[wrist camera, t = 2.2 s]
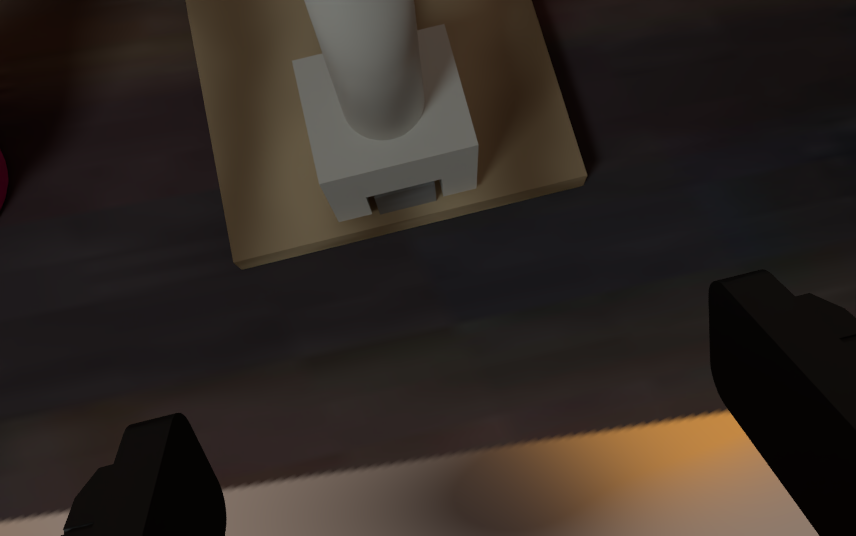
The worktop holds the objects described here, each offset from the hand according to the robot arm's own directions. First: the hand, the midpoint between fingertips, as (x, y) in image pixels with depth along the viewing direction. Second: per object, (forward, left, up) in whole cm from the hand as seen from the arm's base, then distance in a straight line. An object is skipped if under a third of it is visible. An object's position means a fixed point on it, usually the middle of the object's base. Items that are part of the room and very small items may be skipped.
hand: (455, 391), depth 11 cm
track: (0, +17, -19) cm, 26 cm away
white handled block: (0, +12, -18) cm, 21 cm away
